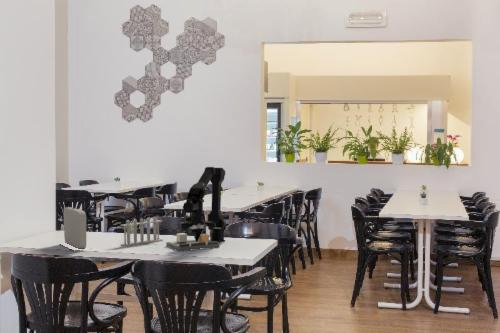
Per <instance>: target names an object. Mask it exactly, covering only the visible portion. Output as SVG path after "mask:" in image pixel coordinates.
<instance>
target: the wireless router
mask: <svg viewBox="0 0 500 333" xmlns="http://www.w3.org/2000/svg"><path fill="white" fill-rule="evenodd" d="M86 214H87V213H86V212H85V210H81V209H78V208H75V207H70V206H68V207H64V208H63V231H64V232H63V233H64V242H65V243H67V244H69V245H71V246H73V247H75V248H78V249H85V248H86V246H87V215H86ZM90 248H91V249H92V250H93V248H92V247H90ZM77 251H80V250H75V251H74V252H77ZM81 252H83V251H82V250H81Z"/></svg>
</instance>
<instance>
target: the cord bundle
mask: <svg viewBox="0 0 500 333" xmlns="http://www.w3.org/2000/svg"><path fill="white" fill-rule="evenodd" d="M218 243H219V242H217V241H214V242H207V241H204V242H202V243H188V244H180V245H179V247H185V246H196V245H208V244H218Z"/></svg>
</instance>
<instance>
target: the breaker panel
mask: <svg viewBox="0 0 500 333" xmlns="http://www.w3.org/2000/svg"><path fill="white" fill-rule="evenodd" d="M209 242H213V241H210V239H209ZM188 243H199V242H198V241H197V242H196V241H195V239H191V240H190V239H189V240H188V239H187V242H177V240H176V241H167V242H166V243H165V244H166V245H165V246H166V247H167V246H168V248H170V249H172V248H173V249H172V250H175V249H176V250H175V251H177V250H179V251H178V252H181V251H180V250H188V251H192V250H191V249H198V250H201V249H200V248H209V249H217V248H216V247H219V248H220V243H219V242H218V244H208V245H196V246H185V247H179V245H180V244H188Z"/></svg>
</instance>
